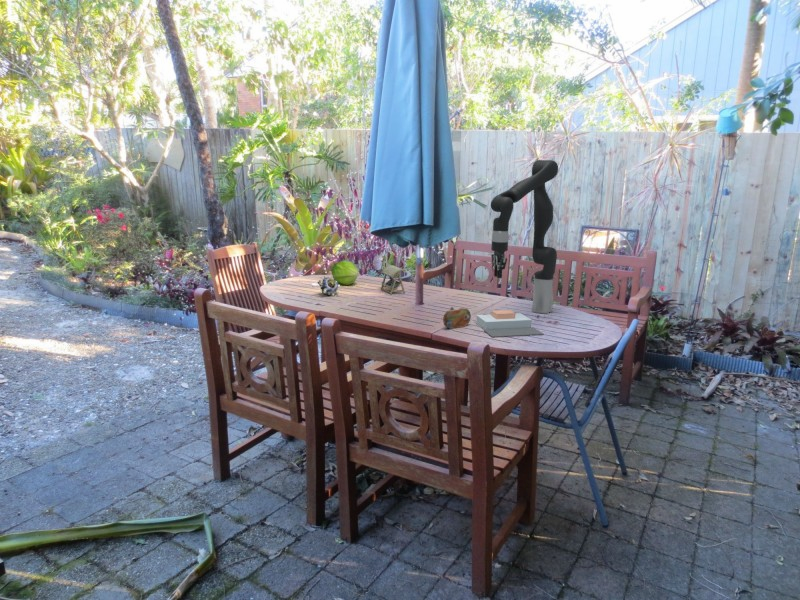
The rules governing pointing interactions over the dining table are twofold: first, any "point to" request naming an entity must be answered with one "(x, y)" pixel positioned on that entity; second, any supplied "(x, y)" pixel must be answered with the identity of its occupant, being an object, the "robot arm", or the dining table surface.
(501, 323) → the plate
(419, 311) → the dining table surface
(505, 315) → the peach rectangular block
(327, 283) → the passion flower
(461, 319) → the tin
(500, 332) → the mat
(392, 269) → the swing bench
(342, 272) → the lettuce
